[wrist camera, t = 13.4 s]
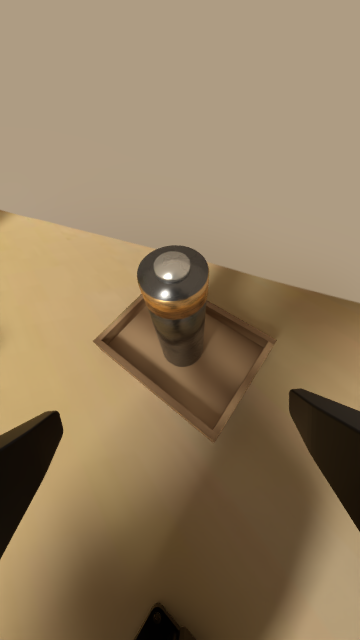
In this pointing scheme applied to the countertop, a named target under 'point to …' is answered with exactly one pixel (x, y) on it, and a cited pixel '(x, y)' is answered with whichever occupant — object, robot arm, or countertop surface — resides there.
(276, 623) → the countertop surface
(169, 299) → the battery cell
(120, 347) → the walnut tray
